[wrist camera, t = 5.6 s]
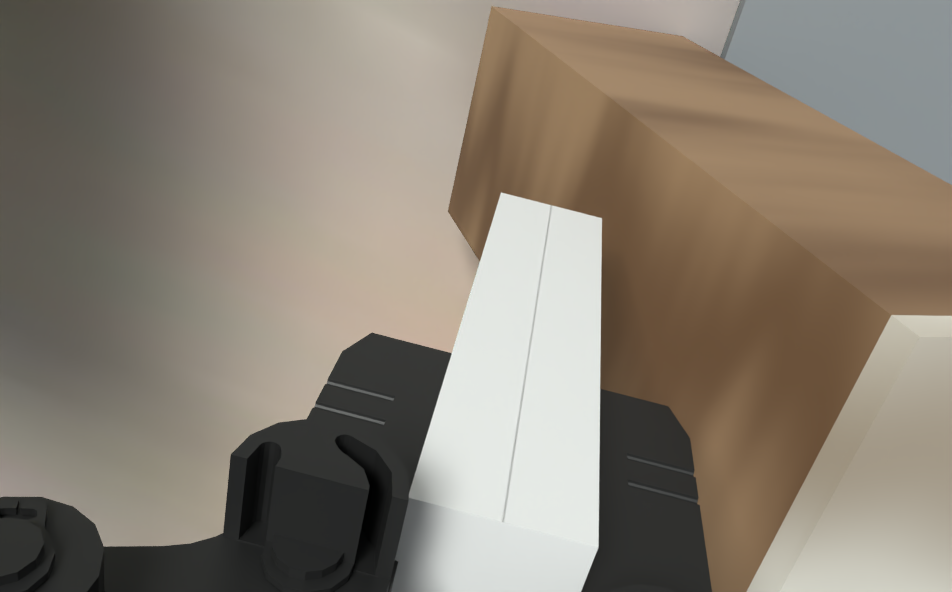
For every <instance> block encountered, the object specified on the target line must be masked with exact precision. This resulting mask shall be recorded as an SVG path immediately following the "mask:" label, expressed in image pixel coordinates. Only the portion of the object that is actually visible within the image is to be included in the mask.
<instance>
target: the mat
mask: <svg viewBox="0 0 952 592" xmlns="http://www.w3.org/2000/svg"><path fill="white" fill-rule="evenodd" d="M721 58H723V59H724V60H726V61H728V62H730V63H732V64H734V65H735V66H737V67H739V68H741V69H743V70H744V71H746V72H748V73H750V74H752V75H753V76H755V77H757V78H759V79H761V80H762V81H764V82H766V83H768V84H770V85H772V86H773V87H775V88H777V89H779V90H781V91H782V92H784V93H786V94H788V95H790V96H791V97H793V98H795V99H797V100H799V101H800V102H802V103H804V104H806V105H808V106H810V107H811V108H813V109H815V110H817V111H819V112H820V113H822V114H824V115H826V116H828V117H829V118H831V119H833V120H835V121H837V122H838V123H840V124H842V125H844V126H846V127H848V128H849V129H851V130H853V131H855V132H857V133H858V134H860V135H862V136H864V137H866V138H867V139H869V140H871V141H873V142H875V143H876V144H878V145H880V146H882V147H884V148H886V149H887V150H889V151H891V152H893V153H895V154H896V155H898V156H900V157H902V158H904V159H905V160H907V161H909V162H911V163H913V164H914V165H916V166H918V167H920V168H922V169H924V170H925V171H927V172H929V173H931V174H933V175H934V176H936V177H938V178H940V179H942V180H943V181H945V182H947V183H949V184H951V185H952V0H741V1H740V3H739V6H738V9H737V12H736V15H735V17H734V20H733V23H732V26H731V29H730V31H729V34H728V37H727V40H726V43H725V46H724V48H723V51H722V54H721Z"/></svg>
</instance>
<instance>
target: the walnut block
mask: <svg viewBox="0 0 952 592" xmlns="http://www.w3.org/2000/svg"><path fill="white" fill-rule="evenodd" d="M501 193H505V194H509V195H513V196H517V197H521V198H525V199H529V200H532V201H536V202H540V203H544V204H548V205H552V206H556V207H560V208H564V209H568V210H572V211H576V212H580V213H583V214H587V215H591V216H595V217H599V218H602V261H601V357H600V389H603V390H607V391H611V392H615V393H619V394H623V395H627V396H631V397H634V398H638V399H642V400H646V401H650V402H654V403H658V404H661V405H665V406H669V408H670V409H671V411H672V412H673V414H674V415H675V417H676V418H677V420H678V421H679V423H680V424H681V426H682V427H683V429H684V430H685V431H686V433H687V434H688V436H689V437H690V441H691V448H692V455H693V462H694V469H695V471H694V477H696V483H697V490H698V497H699V498H698V502H697V504H698V505H700V511H701V518H702V525H703V532H704V539H705V546H706V553H707V560H708V567H709V574H710V581H711V588H712V592H952V185H951V184H949V183H947V182H945V181H943V180H942V179H940V178H938V177H936V176H934V175H933V174H931V173H929V172H927V171H925V170H924V169H922V168H920V167H918V166H916V165H914V164H913V163H911V162H909V161H907V160H905V159H904V158H902V157H900V156H898V155H896V154H895V153H893V152H891V151H889V150H887V149H886V148H884V147H882V146H880V145H878V144H876V143H875V142H873V141H871V140H869V139H867V138H866V137H864V136H862V135H860V134H858V133H857V132H855V131H853V130H851V129H849V128H848V127H846V126H844V125H842V124H840V123H838V122H837V121H835V120H833V119H831V118H829V117H828V116H826V115H824V114H822V113H820V112H819V111H817V110H815V109H813V108H811V107H810V106H808V105H806V104H804V103H802V102H800V101H799V100H797V99H795V98H793V97H791V96H790V95H788V94H786V93H784V92H782V91H781V90H779V89H777V88H775V87H773V86H772V85H770V84H768V83H766V82H764V81H762V80H761V79H759V78H757V77H755V76H753V75H752V74H750V73H748V72H746V71H744V70H743V69H741V68H739V67H737V66H735V65H734V64H732V63H730V62H728V61H726V60H724V59H723V58H721V57H719V56H717V55H715V54H714V53H712V52H710V51H708V50H706V49H705V48H703V47H701V46H699V45H697V44H696V43H694V42H692V41H690V40H688V39H686V38H685V37H683V36H677V35H671V34H665V33H658V32H652V31H646V30H639V29H633V28H627V27H620V26H614V25H607V24H601V23H595V22H588V21H582V20H576V19H569V18H563V17H557V16H550V15H544V14H538V13H531V12H525V11H519V10H512V9H506V8H500V7H493V6H492V7H491V12H490V17H489V21H488V26H487V31H486V35H485V40H484V45H483V49H482V54H481V59H480V64H479V68H478V73H477V78H476V82H475V87H474V92H473V96H472V101H471V106H470V110H469V115H468V120H467V125H466V129H465V134H464V139H463V143H462V148H461V153H460V157H459V162H458V167H457V172H456V176H455V181H454V186H453V190H452V195H451V200H450V204H449V209H448V212H449V214H450V215H451V217H452V218H453V220H454V222H455V223H456V225H457V226H458V228H459V229H460V231H461V233H462V234H463V236H464V237H465V239H466V240H467V242H468V244H469V245H470V247H471V248H472V250H473V251H474V253H475V255H476V256H477V258H478V259H479V261H480V260H481V256H482V253H483V250H484V247H485V243H486V240H487V237H488V234H489V230H490V227H491V224H492V221H493V217H494V214H495V211H496V207H497V204H498V201H499V198H500V194H501Z"/></svg>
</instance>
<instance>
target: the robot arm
mask: <svg viewBox="0 0 952 592" xmlns="http://www.w3.org/2000/svg"><path fill="white" fill-rule="evenodd" d="M601 261H602V218H599V217H595V216H591V215H587V214H583V213H580V212H576V211H572V210H568V209H564V208H560V207H556V206H552V205H548V204H544V203H540V202H536V201H532V200H529V199H525V198H521V197H517V196H513V195H509V194H505V193H501V194H500V198H499V201H498V204H497V207H496V211H495V214H494V217H493V221H492V224H491V227H490V230H489V234H488V237H487V240H486V243H485V247H484V250H483V253H482V256H481V260H480V263H479V266H478V270H477V273H476V276H475V279H474V283H473V286H472V289H471V292H470V296H469V299H468V302H467V305H466V309H465V312H464V315H463V319H462V322H461V325H460V328H459V332H458V335H457V338H456V341H455V345H454V348H453V351H452V353H448V352H444V351H440V350H437V349H433V348H429V347H425V346H421V345H417V344H413V343H409V342H406V341H402V340H398V339H394V338H390V337H386V336H382V335H379V334H375V333H371V334H369V335H368V336H366V337H364V338H363V339H361V340H360V341H358V342H357V343H355V344H353V345H352V346H350V347H349V348H347V349H346V350H344V351H342V353H341V355H340V357H339V359H338V361H337V363H336V365H335V367H334V368H333V370H332V372H331V374H330V376H329V378H328V381H327V384H325V386H324V388H323V389H322V391H321V393H320V395H319V397H318V399H317V401H316V404H315V407H314V408H312V410H311V412H310V414H309V416H308V418H307V419H305V420H297V421H289V422H280V423H277V424H275V425H272V426H270V427H268V428H265V429H263V430H261V431H258V432H256V433H254V434H252V435H250V436H249V437H248V438H247V439H246V440H245V441H244V442H243V443H242V444H241V445H240V446H239V447H238V448H237V449H236V450H235V451H234V452H233V453H232V454H231V459H230V469H229V480H228V491H227V501H226V512H225V522H224V533H222V534H220V535H218V536H216V537H213V538H209V539H206V540H202V541H198V542H195V543H191V544H182V545H171V546H134V547H104V546H103V544H102V541H101V539H100V536H99V533H98V531H97V528H96V526H95V524H94V523H93V522H92V521H90V520H89V519H88V518H87V517H85V516H84V515H83V514H82V513H80V512H79V511H78V510H77V509H75V508H74V507H73V506H69V505H66V504H63V503H59V502H56V501H53V500H49V499H46V498H43V497H1V498H0V592H712V588H711V581H710V574H709V567H708V560H707V553H706V546H705V539H704V532H703V525H702V518H701V511H700V505H698V504H697V502H698V498H699V497H698V490H697V483H696V477H694V471H695V469H694V462H693V455H692V448H691V441H690V437H689V436H688V434H687V433H686V431H685V430H684V429H683V427H682V426H681V424H680V423H679V421H678V420H677V418H676V417H675V415H674V414H673V412H672V411H671V409H670V408H669V406H665V405H661V404H658V403H654V402H650V401H646V400H642V399H638V398H634V397H631V396H627V395H623V394H619V393H615V392H611V391H607V390H603V389H600V357H601Z"/></svg>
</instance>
